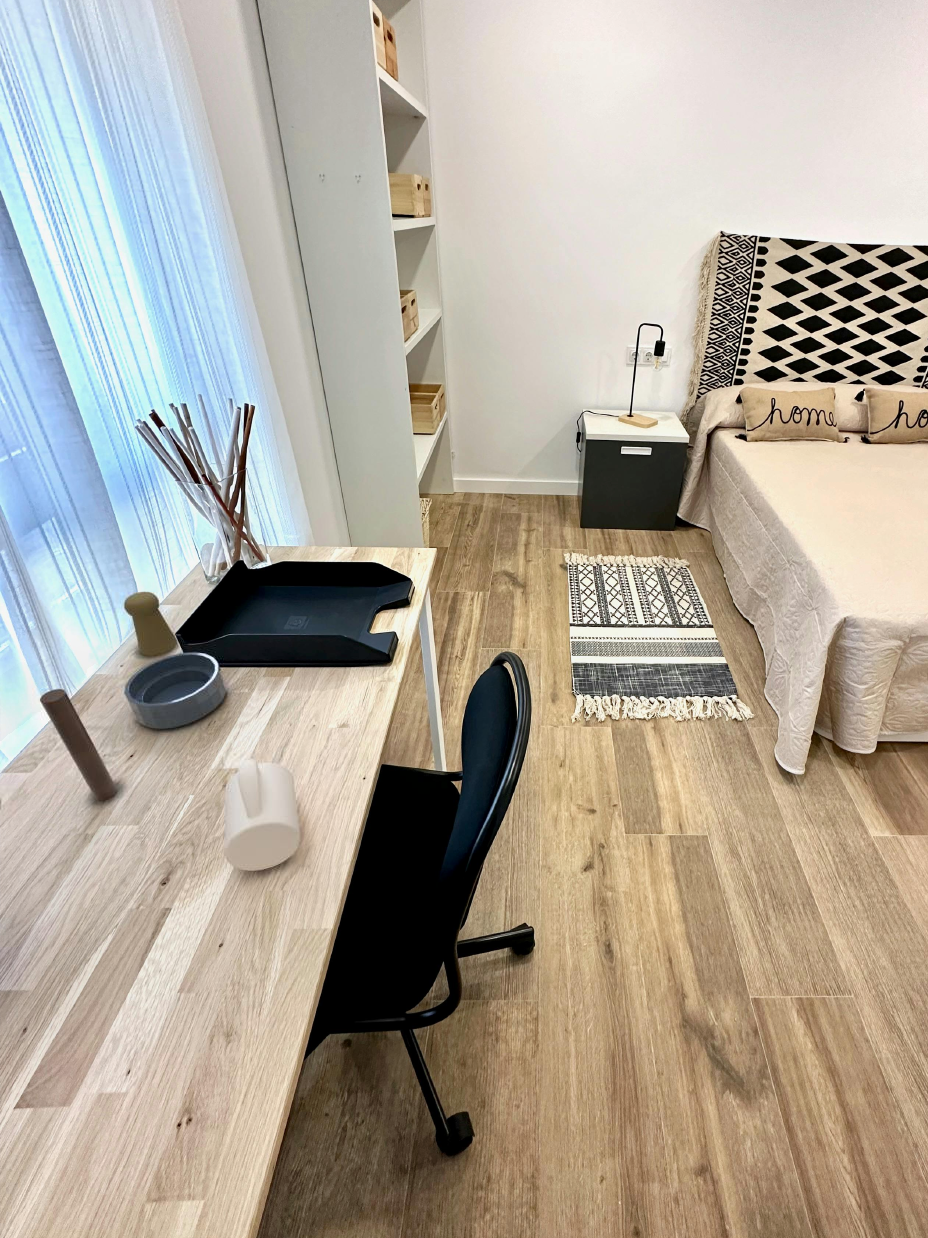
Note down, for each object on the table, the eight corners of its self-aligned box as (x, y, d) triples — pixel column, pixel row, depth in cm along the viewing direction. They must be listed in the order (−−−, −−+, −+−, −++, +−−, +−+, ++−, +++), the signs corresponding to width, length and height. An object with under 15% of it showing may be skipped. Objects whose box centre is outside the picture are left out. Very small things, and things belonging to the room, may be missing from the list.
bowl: (121, 735, 94) (108, 709, 91) (156, 680, 105) (145, 655, 102) (212, 728, 96) (203, 702, 93) (237, 674, 107) (228, 649, 104)
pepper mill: (172, 632, 117) (154, 583, 111) (180, 647, 113) (161, 597, 107) (136, 644, 114) (115, 594, 108) (143, 660, 110) (121, 609, 104)
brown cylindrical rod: (91, 801, 84) (35, 703, 74) (100, 786, 86) (46, 689, 76) (112, 799, 84) (58, 701, 74) (120, 785, 86) (69, 687, 77)
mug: (234, 880, 74) (207, 816, 68) (234, 815, 82) (209, 752, 76) (306, 856, 77) (286, 793, 71) (299, 796, 85) (280, 733, 79)
